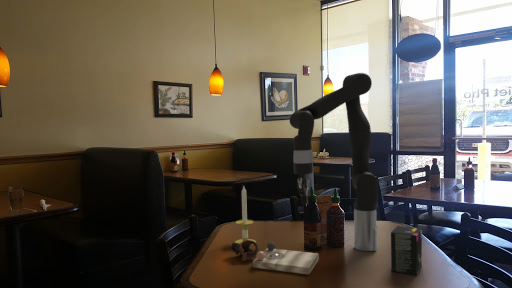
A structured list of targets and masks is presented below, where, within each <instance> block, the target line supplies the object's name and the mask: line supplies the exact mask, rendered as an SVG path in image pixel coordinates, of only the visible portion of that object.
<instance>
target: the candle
mask: <svg viewBox="0 0 512 288" xmlns="http://www.w3.org/2000/svg"><path fill="white" fill-rule="evenodd" d="M247 204H248V203H247V189H246V188H245V185H243V187H242V190H241V209H242V210H241V213H242V214H241V216H242V217H241V218H242V219H238V220H236V221H235V224H236V225H239V226H241V230H242V231H241V233H242V235H241V236H242V238H240V239H238V240H235V241H234V243H238V244H241V242H242V241H244V240H251V241H254V242H255V243H256V244H257V241H256V240H255V239H251V238H249V233H248V232H249V231H248V230H249V227H248V226H249V225H252V224H254V223H255V221H254V220H253V219H248V212H247V211H248V208H247V207H248V206H247ZM251 246H255V245H254V244H252V245H250V246H249V247H251Z"/></svg>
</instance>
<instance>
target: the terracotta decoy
mask: <svg viewBox="0 0 512 288" xmlns="http://www.w3.org/2000/svg"><path fill="white" fill-rule="evenodd" d="M263 251H264V250H263ZM263 251H261V250H259V252H258V253H257V254H256V255H255V257H256V258H257V259H258V260H263V259H264V258H265V253H264V252H263Z"/></svg>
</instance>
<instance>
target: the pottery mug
mask: <svg viewBox="0 0 512 288" xmlns="http://www.w3.org/2000/svg"><path fill="white" fill-rule="evenodd" d="M252 244H254V245H252ZM250 245H251V246H254V248H255V249H254V250H253V248H252V249H251V248H250V247H251V246H250ZM230 249H231V250H232V252H233V253H235V254H236V256H238V255H240V256H241V255H242V256H241V257H242V258H241V261H243V262H246V261H247V260H249V259H252V258H253V259H254V258H255V257H256V254H257V253H258V252H259V251H260V250H259V248H258V244H257V242H256V243H255V242H254V241H251V240H244V241H242V242H241V244H238V243H235V242H232V243H231V245H230Z"/></svg>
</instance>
